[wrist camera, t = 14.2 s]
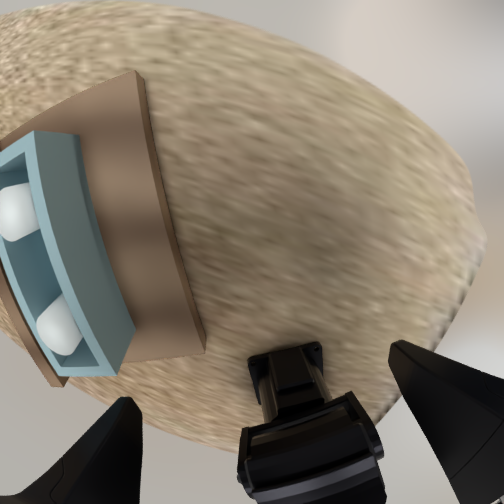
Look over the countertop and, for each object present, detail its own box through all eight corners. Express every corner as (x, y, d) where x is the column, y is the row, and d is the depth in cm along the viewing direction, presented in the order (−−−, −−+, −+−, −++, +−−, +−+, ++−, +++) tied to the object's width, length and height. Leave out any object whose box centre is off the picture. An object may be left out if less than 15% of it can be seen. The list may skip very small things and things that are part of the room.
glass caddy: (136, 329, 18) (114, 381, 13) (84, 335, 18) (56, 380, 12) (79, 135, 13) (27, 130, 8) (27, 161, 13) (-25, 168, 8)
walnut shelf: (206, 337, 21) (203, 381, 16) (71, 352, 20) (51, 386, 16) (143, 78, 14) (118, 54, 10) (3, 148, 14) (-35, 151, 9)
